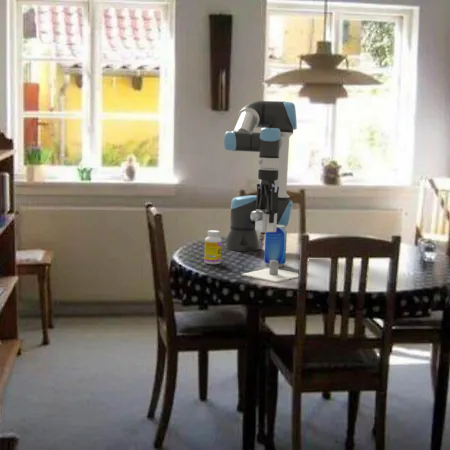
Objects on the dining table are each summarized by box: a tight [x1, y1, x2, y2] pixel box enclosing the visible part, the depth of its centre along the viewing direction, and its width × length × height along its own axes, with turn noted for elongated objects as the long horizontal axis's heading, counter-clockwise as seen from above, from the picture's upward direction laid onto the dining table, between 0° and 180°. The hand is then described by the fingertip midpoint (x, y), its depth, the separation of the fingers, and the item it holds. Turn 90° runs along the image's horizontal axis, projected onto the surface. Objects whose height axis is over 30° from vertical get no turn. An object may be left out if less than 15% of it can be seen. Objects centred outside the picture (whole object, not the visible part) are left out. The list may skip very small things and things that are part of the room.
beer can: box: [263, 224, 288, 268], centre depth 314 cm, size 8×8×16 cm
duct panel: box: [241, 260, 299, 284], centre depth 295 cm, size 18×16×6 cm
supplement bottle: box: [203, 229, 223, 265], centre depth 314 cm, size 7×7×13 cm
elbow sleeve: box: [250, 209, 277, 233], centre depth 300 cm, size 9×6×8 cm
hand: (265, 230), depth 301 cm, fingers closed on elbow sleeve, 6 cm apart
